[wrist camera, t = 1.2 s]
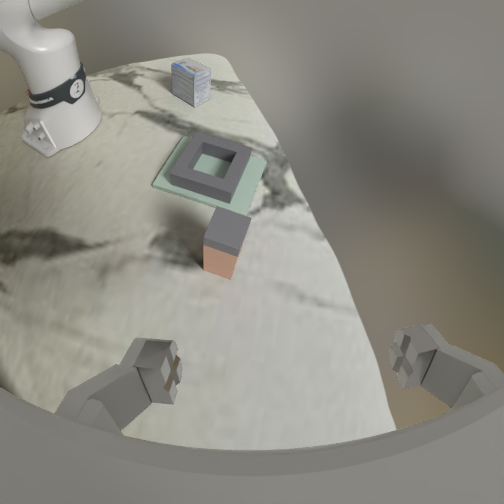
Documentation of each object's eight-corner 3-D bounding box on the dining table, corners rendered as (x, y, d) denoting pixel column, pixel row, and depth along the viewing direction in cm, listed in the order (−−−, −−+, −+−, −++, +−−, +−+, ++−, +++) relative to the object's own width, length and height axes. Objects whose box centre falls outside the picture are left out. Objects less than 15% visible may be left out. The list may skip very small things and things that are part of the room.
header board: (153, 187, 41) (149, 173, 38) (184, 138, 46) (183, 124, 43) (245, 218, 42) (249, 205, 38) (266, 164, 47) (270, 149, 43)
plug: (203, 270, 38) (203, 237, 28) (213, 245, 39) (216, 206, 29) (230, 279, 38) (240, 250, 28) (239, 254, 39) (251, 218, 29)
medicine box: (209, 100, 51) (212, 68, 44) (194, 108, 50) (195, 75, 42) (187, 86, 53) (187, 56, 45) (171, 94, 51) (170, 63, 43)
